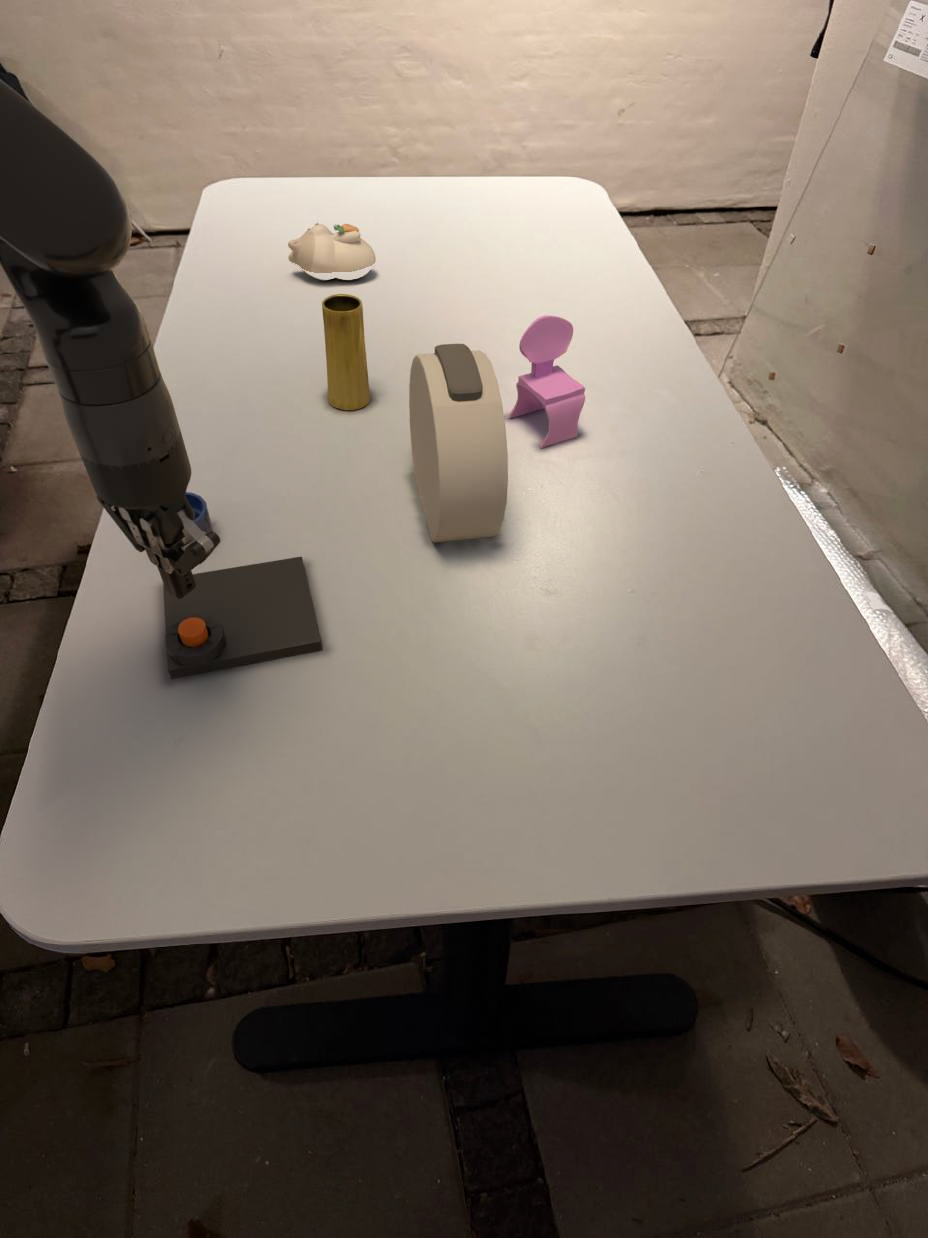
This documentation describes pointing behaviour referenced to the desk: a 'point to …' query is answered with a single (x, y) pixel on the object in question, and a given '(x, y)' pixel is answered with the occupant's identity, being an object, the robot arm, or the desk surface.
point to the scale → (243, 617)
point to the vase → (345, 352)
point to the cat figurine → (331, 250)
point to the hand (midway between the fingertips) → (182, 590)
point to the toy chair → (549, 379)
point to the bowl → (200, 512)
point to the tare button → (193, 632)
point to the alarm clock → (458, 443)
